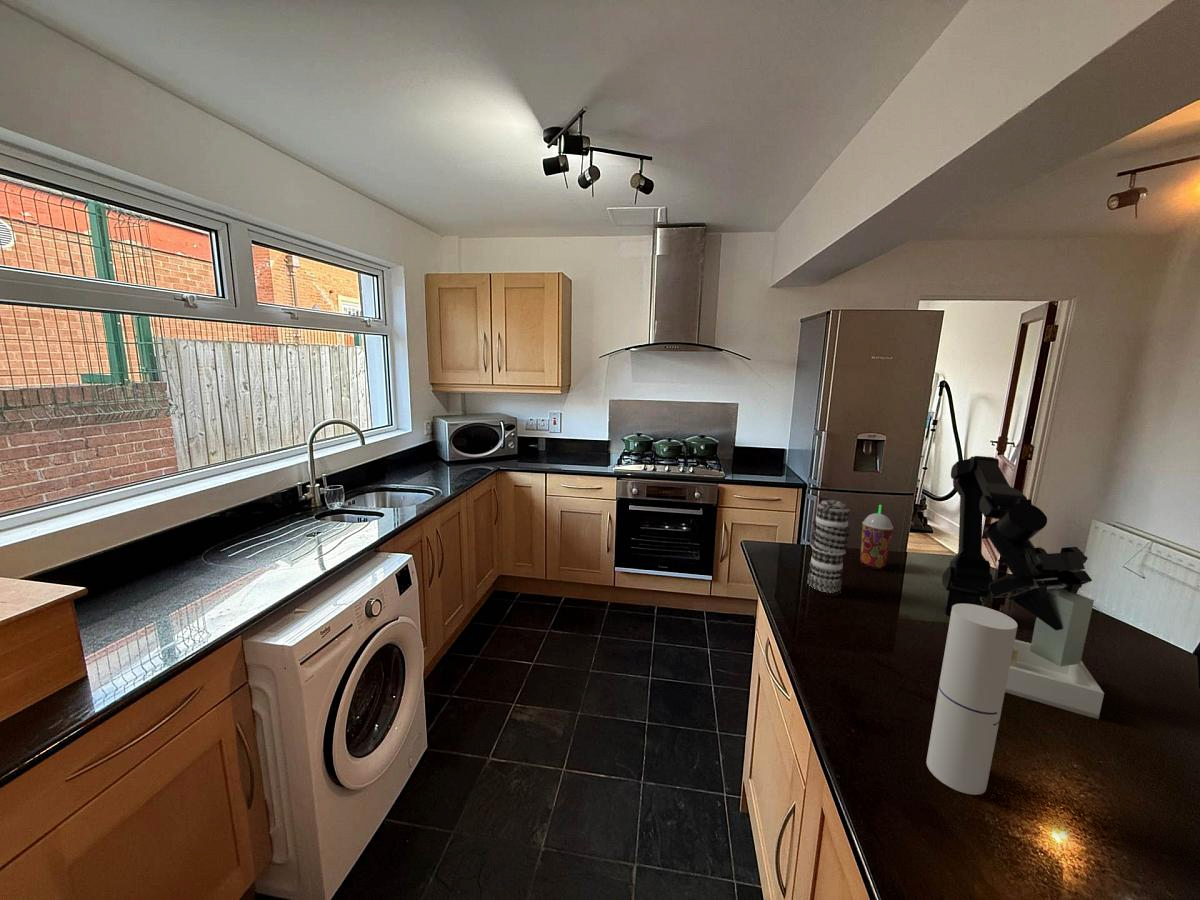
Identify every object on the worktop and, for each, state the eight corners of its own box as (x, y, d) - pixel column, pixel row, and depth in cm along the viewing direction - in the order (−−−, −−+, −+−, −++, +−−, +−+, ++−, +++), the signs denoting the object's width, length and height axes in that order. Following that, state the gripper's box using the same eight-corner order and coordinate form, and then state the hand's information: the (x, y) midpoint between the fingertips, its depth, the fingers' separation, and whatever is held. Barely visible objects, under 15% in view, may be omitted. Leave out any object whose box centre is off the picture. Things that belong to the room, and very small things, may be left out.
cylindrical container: (915, 755, 73) (939, 603, 69) (957, 753, 74) (984, 603, 70) (952, 795, 66) (982, 629, 62) (1000, 793, 66) (1032, 629, 63)
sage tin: (1060, 666, 86) (1073, 602, 84) (1029, 650, 91) (1041, 589, 89) (1080, 663, 87) (1094, 600, 85) (1049, 648, 92) (1061, 587, 90)
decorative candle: (809, 595, 127) (819, 504, 123) (802, 580, 136) (811, 496, 132) (846, 599, 125) (857, 508, 121) (836, 585, 134) (847, 499, 130)
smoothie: (884, 564, 151) (892, 503, 148) (890, 574, 143) (899, 510, 140) (854, 559, 154) (862, 500, 150) (859, 569, 146) (867, 506, 143)
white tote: (969, 681, 92) (973, 658, 91) (960, 648, 104) (963, 626, 103) (1098, 719, 83) (1104, 693, 82) (1072, 677, 94) (1076, 654, 94)
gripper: (1016, 533, 87) (1076, 619, 78) (1089, 529, 91) (1154, 610, 82) (967, 557, 96) (1016, 637, 87) (1036, 553, 100) (1089, 628, 91)
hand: (1069, 628), depth 87 cm, fingers closed on sage tin, 5 cm apart
